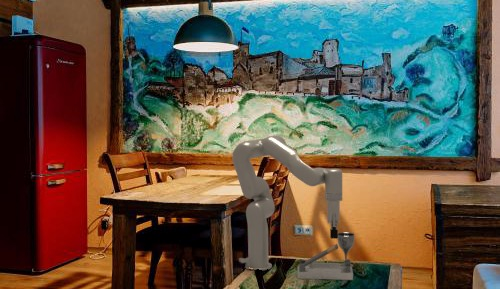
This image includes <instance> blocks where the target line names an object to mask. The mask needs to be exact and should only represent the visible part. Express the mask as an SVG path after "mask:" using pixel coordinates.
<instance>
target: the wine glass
mask: <svg viewBox="0 0 500 289" xmlns="http://www.w3.org/2000/svg"><path fill="white" fill-rule="evenodd" d="M354 243H355V233H353V232H347V231H346V232H343V231H342V232H338V238H337V245H338V248H339V249H341V250H342V252H343V254H344V260H345V259H348V253H349V252H350V250H351V249H352V248H353V247H354ZM341 267H345V264H344V262H343V263H341ZM350 267H352V268H353V267H354V264H352V263H350Z"/></svg>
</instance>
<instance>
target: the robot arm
mask: <svg viewBox="0 0 500 289" xmlns="http://www.w3.org/2000/svg"><path fill="white" fill-rule="evenodd" d="M266 156H270V157H271V158H273V159H274V160H276V161H277V162H278V163H280V164H281V165H283V166H284V167H285V168H287V170H288V171H289V172H290V173H291V174H292V175H293V176H294V177H295V178H297V179H298V180H299V181H301V182H302V183H304V184H305V185H307V186H309V187H316V186H319V185H324V198H325V199H324V200H325V201H327V203H326V204H327V206H326V209H327V210H326V211H327V213H326V215H327V217H326V218H327V224H330V229H329V237H330V239H334V240H335V239H337V238H338V233H339V229H338V224H339V222H340V213H341V212H340V209H341V208H340V207H341V206H340V202H342V201H343V170H342V169H340V168H324V167H315V168H312V167H311V166H310V165H308V164H306V163H305V162H304V161H302V160H301V158H300V157H299V152H298V151H297V150H296V149H294V148H292V147H291V146H289V145H287V142H286V140H285V139H284V137H282V136H280V135H269V136H267V137H264V138H260V139H253V140H244V141H242V142H240V143H238V145H236V146H235V148H234V150H233V151H232V164H233V167H234V169H235V172H236V175H237V180H238V182H239V185H240V189H241V192H242V194H243V197H245V198H246V199H249V200H251V199H253V200H254V201H252V202H250V203H249V204H248V205H247V207H246V210H245V216H246V222H247V243H248V244H247V245H248V246H247V247H248V250H247V251H248V254H247V255H248V256H247V257H246V258H244V257H239V258H238V262H239V263H240V264H245V265H244V268H245V269H247V270H249V269H248V268H249V267H250V268H253V269H259V270H262V271H267V269H268V270H271V269H272V268H273V265H272V263H271V262H269V227H268V221H267V219H268V218H270V217H271V216H273V214H274V213H275V209H276V208H275V207H276V206H275V201H274V199H273V196H272V192H271V190H270V189H271V188H270V186H269V183H268V182H267V181H266V179H264V178H263V177H261V176H257V174H256V170H255V168H254V166H253V163H252V162H251V159H255V158H256V159H257V158H262V157H266ZM337 240H338V239H337Z"/></svg>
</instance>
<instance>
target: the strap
mask: <svg viewBox="0 0 500 289" xmlns="http://www.w3.org/2000/svg"><path fill="white" fill-rule="evenodd" d="M338 249H339V244H338V243H336V244H334V245H332V246H330V247H329V248H326V249H325V250H323V251H322V252H321V251H320V252H319V253H317V254H316V255H314V256H312V257H310V258H308V259H305V262H303V263H302V264H305V266H309V264H311V263H315V262H316V261H318V260H320V259H322V258H324V257H325V256H327V255H329V254H331V253H333V252H335V251H337V250H338Z"/></svg>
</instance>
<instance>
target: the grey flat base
mask: <svg viewBox="0 0 500 289" xmlns="http://www.w3.org/2000/svg"><path fill="white" fill-rule="evenodd" d="M305 261H306V259H299V263H298V265H297V279H299V280H300V279H302V280H333V281H334V280H335V281H336V280H338V281H339V280H342V281H354V270H353V267H350V264H351V259H349V258H347V259H345V258H344V260H343V261H344V262H343V263H344V264H345V267H341V264H342V263H338V262H313V263H311V264H309V265H307V266H305V264H302V263H303V262H305Z"/></svg>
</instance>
